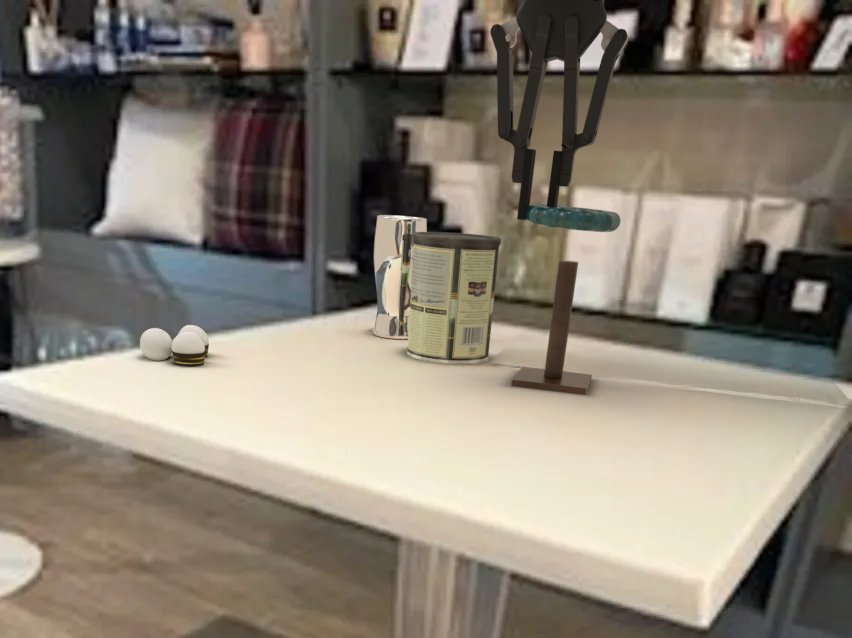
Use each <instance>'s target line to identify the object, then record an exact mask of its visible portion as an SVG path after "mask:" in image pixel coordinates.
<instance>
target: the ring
mask: <svg viewBox="0 0 852 638" xmlns="http://www.w3.org/2000/svg"><path fill="white" fill-rule="evenodd" d="M525 218H526V220H525V221H527V222H528V223H529V224H532V225H536V226H541V227H549V228H554V229H564V230H572V231H573V230H574V231H580V232H581V231H584V232H596V233H612V232H614V231H616V230H618V228H619V227H620V225H621V215H619V213H617V212H615V211H609V210H605V209H604V210H603V209H595V208H588V207H587V208H586V207H577V206H569V205H558V204H557V208H554V207H547V204H543V203H542V204H541V203H535V204H530V206H529V207H528V208H527V209H526V212H525Z"/></svg>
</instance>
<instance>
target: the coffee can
mask: <svg viewBox="0 0 852 638" xmlns="http://www.w3.org/2000/svg"><path fill="white" fill-rule="evenodd" d="M413 240H414V245H413V263H412V280H411V298H410V316H409V333H408V339H407V352H406V355H407V356H408V357H410V358H413V359H416V360H419V361H424V362H429V363H434V364H445V365H476V364H483V363H486V362H488V361H489V358H490V357H489V353H490V345H491V335H492V333H491V331H492V323H493V313H494V303H495V302H494V301H495V292H496V285H497V284H496V283H497V275H498V274H497V273H498V262H499V252H500V246H501V245H502V238H500V237H498V236H491V235H486V234H485V235H483V234H476V233H465V232H464V233H463V232H462V233H461V232H448V231H447V232H446V231H445V232H443V231H427V232H415V233H413Z"/></svg>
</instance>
